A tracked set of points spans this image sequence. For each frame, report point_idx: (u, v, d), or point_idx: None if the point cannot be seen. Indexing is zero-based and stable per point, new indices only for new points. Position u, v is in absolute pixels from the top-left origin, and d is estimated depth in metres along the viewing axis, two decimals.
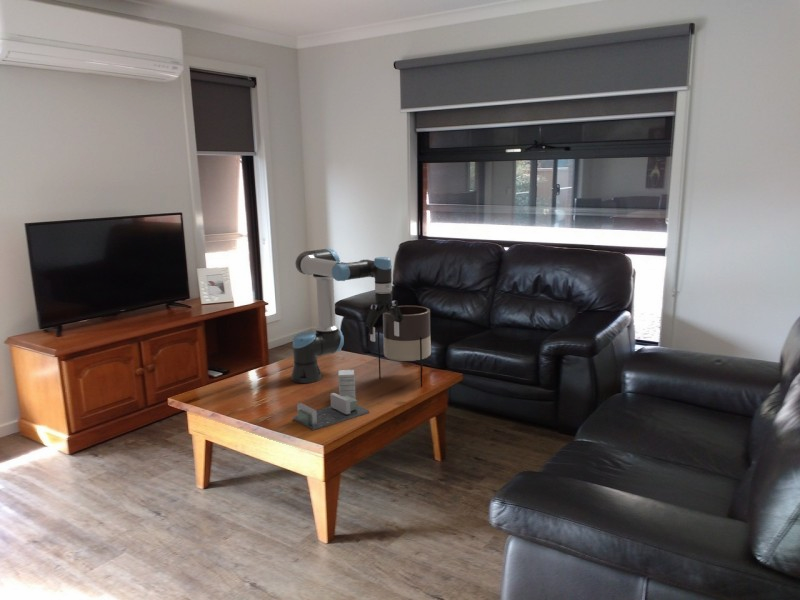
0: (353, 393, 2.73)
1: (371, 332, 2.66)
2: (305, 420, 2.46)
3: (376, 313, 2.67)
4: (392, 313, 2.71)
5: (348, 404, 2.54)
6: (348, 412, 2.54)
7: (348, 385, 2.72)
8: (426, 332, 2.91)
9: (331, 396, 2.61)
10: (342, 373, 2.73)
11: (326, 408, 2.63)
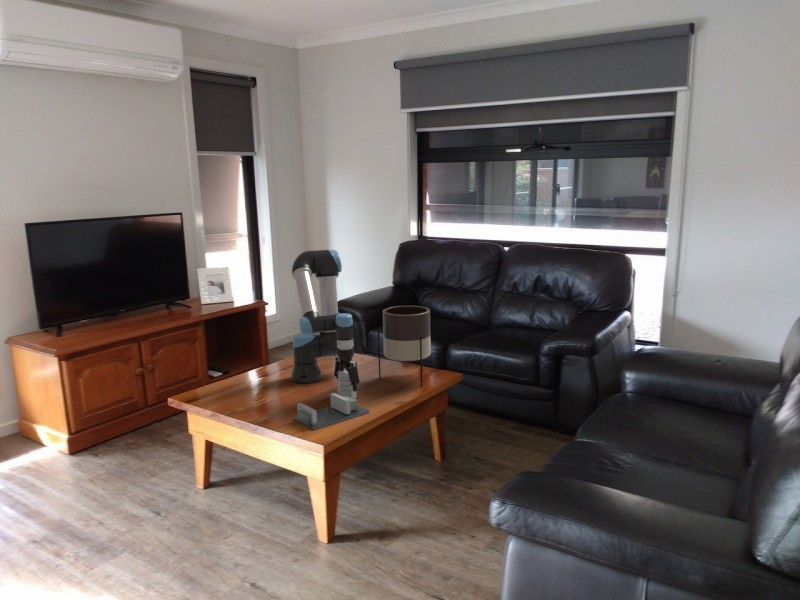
0: None
1: (338, 383, 2.80)
2: (305, 420, 2.46)
3: None
4: None
5: (348, 404, 2.54)
6: (348, 412, 2.54)
7: (348, 385, 2.72)
8: (426, 332, 2.91)
9: (331, 396, 2.61)
10: (342, 373, 2.73)
11: (326, 408, 2.63)
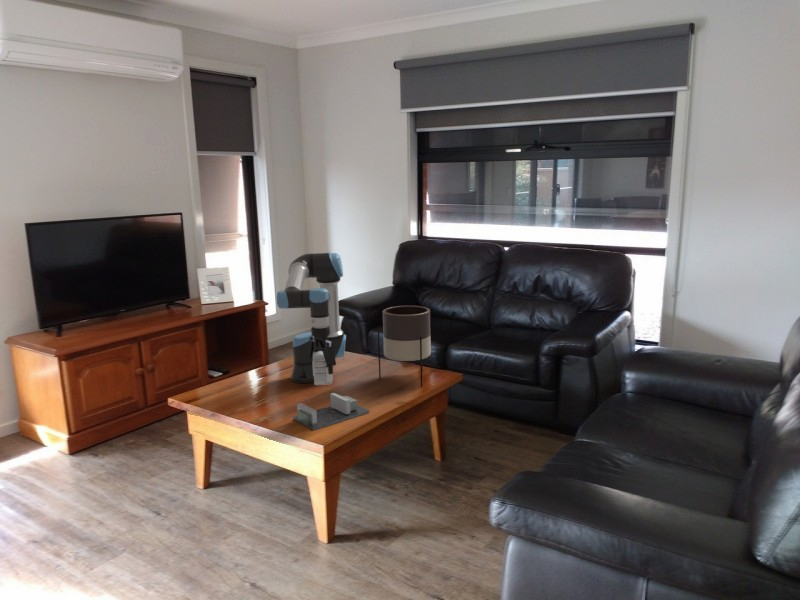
0: None
1: None
2: (305, 420, 2.46)
3: None
4: (323, 353, 2.46)
5: (348, 404, 2.54)
6: (348, 412, 2.54)
7: (324, 367, 2.46)
8: (426, 332, 2.91)
9: (331, 396, 2.61)
10: (317, 354, 2.47)
11: (326, 408, 2.63)
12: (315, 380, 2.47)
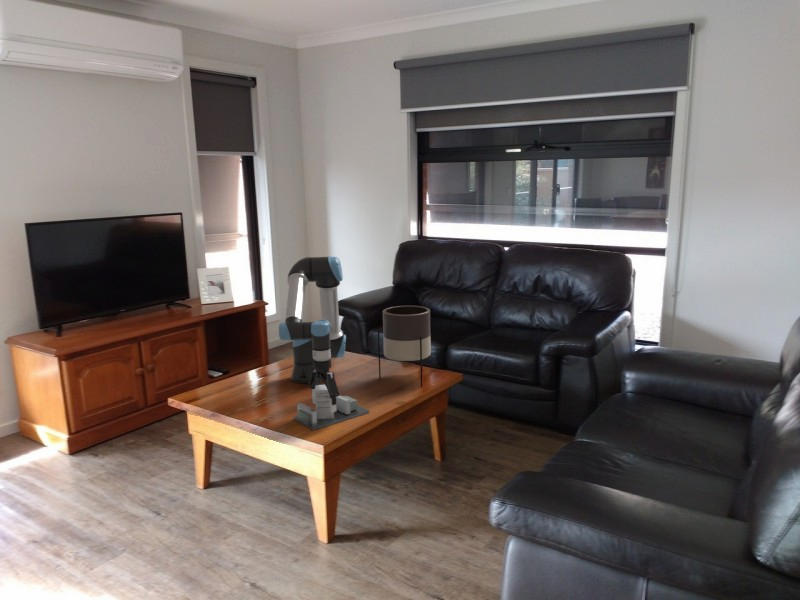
0: None
1: None
2: (305, 420, 2.46)
3: None
4: (325, 384, 2.48)
5: (348, 404, 2.54)
6: (348, 412, 2.54)
7: (326, 402, 2.49)
8: (426, 332, 2.91)
9: None
10: (319, 389, 2.50)
11: None
12: (317, 414, 2.50)
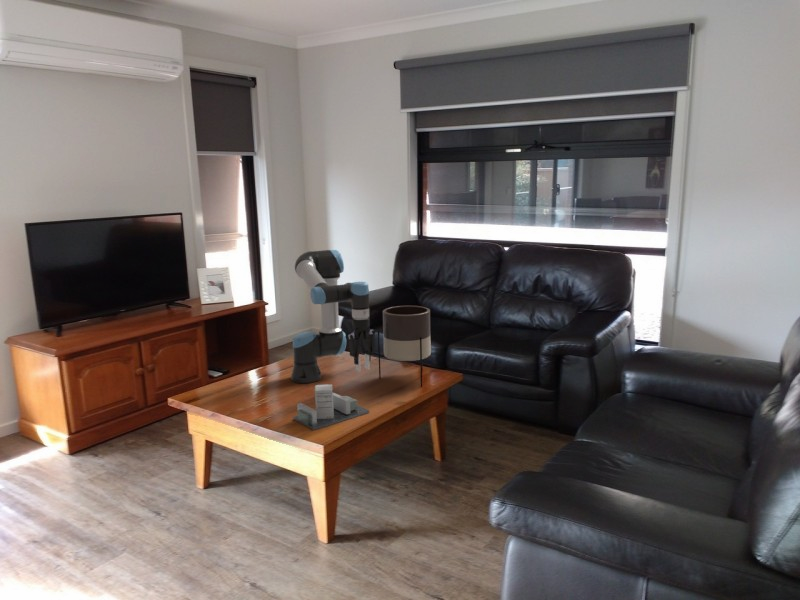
0: (331, 410, 2.50)
1: (356, 362, 2.60)
2: (305, 420, 2.46)
3: (356, 341, 2.60)
4: (366, 342, 2.62)
5: (348, 404, 2.54)
6: (348, 412, 2.54)
7: (326, 402, 2.49)
8: (426, 332, 2.91)
9: None
10: (319, 389, 2.50)
11: None
12: (317, 414, 2.50)
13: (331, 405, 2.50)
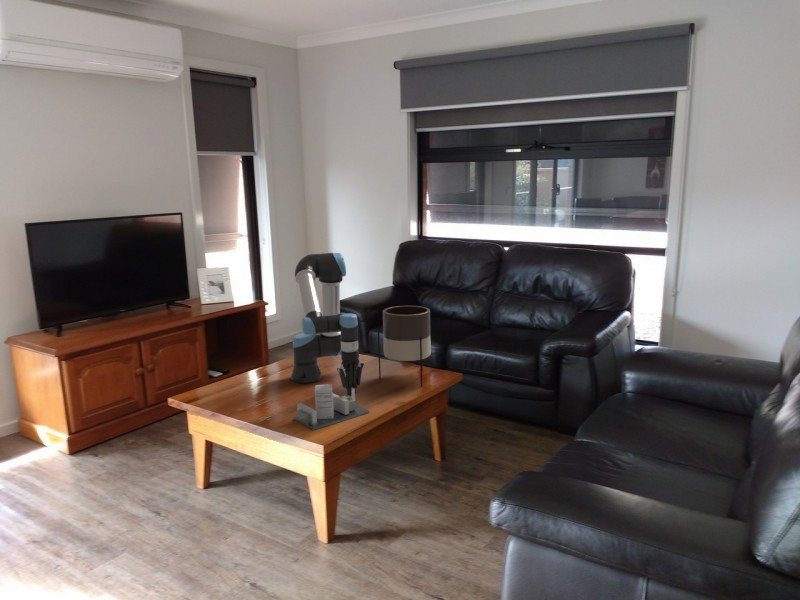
0: (331, 410, 2.50)
1: (349, 394, 2.60)
2: (305, 420, 2.46)
3: (347, 374, 2.59)
4: (353, 374, 2.60)
5: (347, 404, 2.53)
6: (347, 412, 2.54)
7: (326, 402, 2.49)
8: (426, 332, 2.91)
9: None
10: (319, 389, 2.50)
11: None
12: (317, 414, 2.50)
13: (331, 405, 2.50)
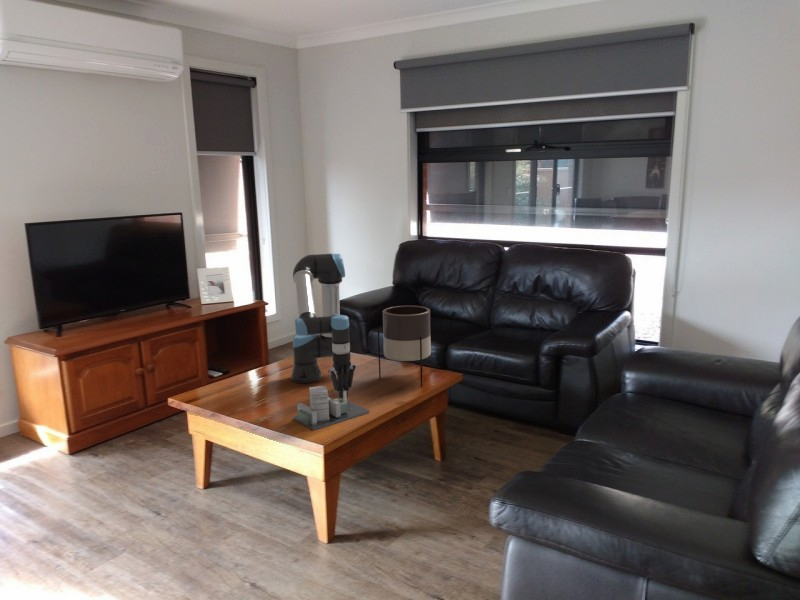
0: (327, 412, 2.49)
1: (341, 396, 2.58)
2: (305, 420, 2.46)
3: (338, 376, 2.56)
4: (345, 376, 2.57)
5: (338, 407, 2.51)
6: (338, 415, 2.51)
7: (321, 403, 2.47)
8: (426, 332, 2.91)
9: None
10: (314, 391, 2.47)
11: None
12: None
13: (327, 407, 2.48)
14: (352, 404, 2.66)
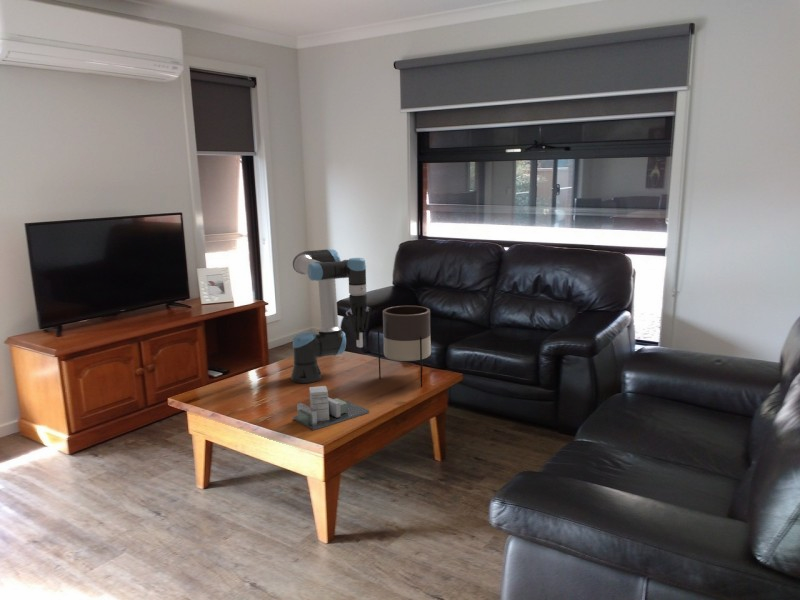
0: (327, 412, 2.49)
1: (357, 338, 2.63)
2: (305, 420, 2.46)
3: (355, 318, 2.61)
4: (361, 318, 2.62)
5: (338, 407, 2.51)
6: (338, 415, 2.51)
7: (321, 403, 2.47)
8: (426, 332, 2.91)
9: None
10: (314, 391, 2.47)
11: None
12: None
13: (327, 407, 2.48)
14: (352, 404, 2.66)
